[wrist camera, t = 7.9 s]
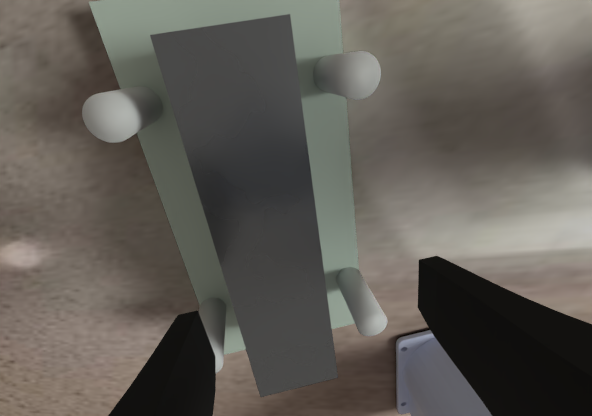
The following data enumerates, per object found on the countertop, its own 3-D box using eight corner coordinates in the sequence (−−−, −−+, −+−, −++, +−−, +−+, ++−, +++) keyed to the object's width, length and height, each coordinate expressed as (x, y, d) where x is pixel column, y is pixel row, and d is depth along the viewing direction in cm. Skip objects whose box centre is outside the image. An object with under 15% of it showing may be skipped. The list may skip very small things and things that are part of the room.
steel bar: (316, 309, 20) (337, 377, 16) (256, 323, 20) (260, 397, 16) (273, 31, 14) (290, 14, 9) (181, 46, 13) (149, 34, 9)
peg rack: (356, 306, 23) (388, 372, 18) (218, 338, 22) (211, 417, 17) (329, -24, 14) (377, -72, 9) (101, 9, 13) (20, -26, 8)
